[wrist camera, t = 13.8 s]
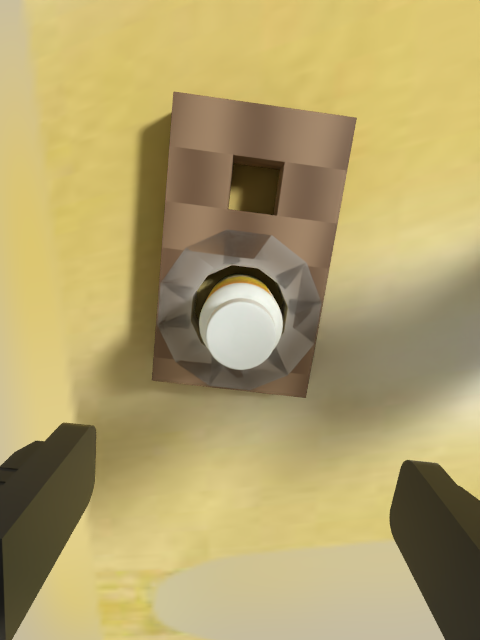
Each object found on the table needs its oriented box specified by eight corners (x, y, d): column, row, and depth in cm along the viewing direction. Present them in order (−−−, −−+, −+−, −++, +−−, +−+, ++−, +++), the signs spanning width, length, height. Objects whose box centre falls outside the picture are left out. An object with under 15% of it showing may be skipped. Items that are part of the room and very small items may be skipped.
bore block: (343, 130, 27) (356, 117, 24) (299, 382, 31) (305, 397, 28) (180, 107, 26) (173, 91, 23) (160, 366, 31) (151, 380, 28)
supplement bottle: (284, 315, 30) (306, 353, 20) (229, 348, 30) (226, 398, 21) (251, 259, 29) (258, 271, 19) (194, 294, 29) (175, 322, 20)
